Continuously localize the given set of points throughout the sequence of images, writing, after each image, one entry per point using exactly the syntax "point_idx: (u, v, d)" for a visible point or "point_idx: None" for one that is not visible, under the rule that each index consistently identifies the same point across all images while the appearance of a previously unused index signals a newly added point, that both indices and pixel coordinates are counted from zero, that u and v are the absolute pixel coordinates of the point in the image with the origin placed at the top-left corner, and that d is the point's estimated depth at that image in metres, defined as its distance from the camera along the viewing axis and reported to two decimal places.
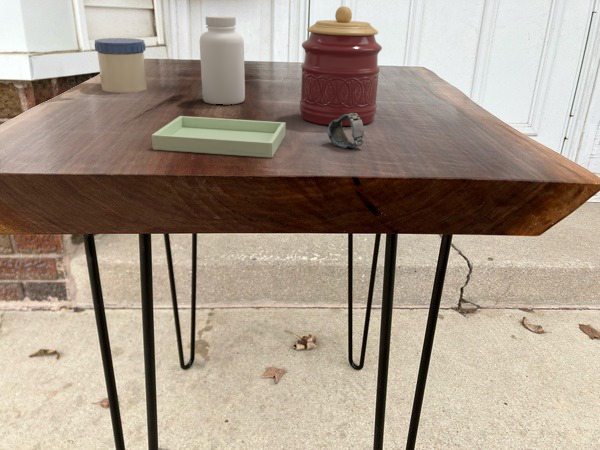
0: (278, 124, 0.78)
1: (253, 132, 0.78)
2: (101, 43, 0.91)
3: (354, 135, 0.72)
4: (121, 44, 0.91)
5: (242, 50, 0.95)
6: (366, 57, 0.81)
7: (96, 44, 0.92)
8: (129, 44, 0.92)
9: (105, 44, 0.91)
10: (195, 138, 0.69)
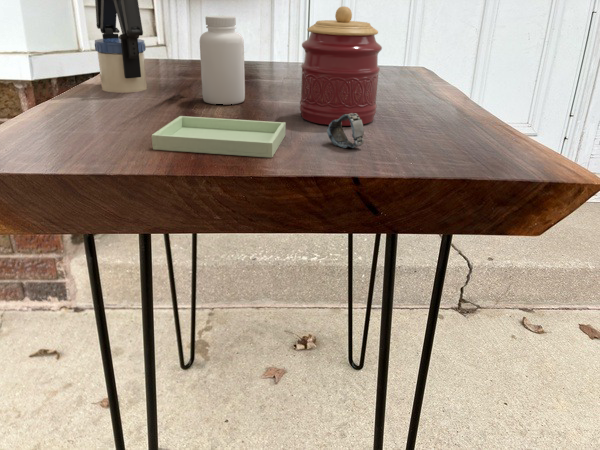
0: (278, 124, 0.78)
1: (253, 132, 0.78)
2: (101, 43, 0.91)
3: (354, 135, 0.72)
4: None
5: (242, 50, 0.95)
6: (366, 57, 0.81)
7: (96, 44, 0.92)
8: None
9: (105, 44, 0.91)
10: (195, 138, 0.69)
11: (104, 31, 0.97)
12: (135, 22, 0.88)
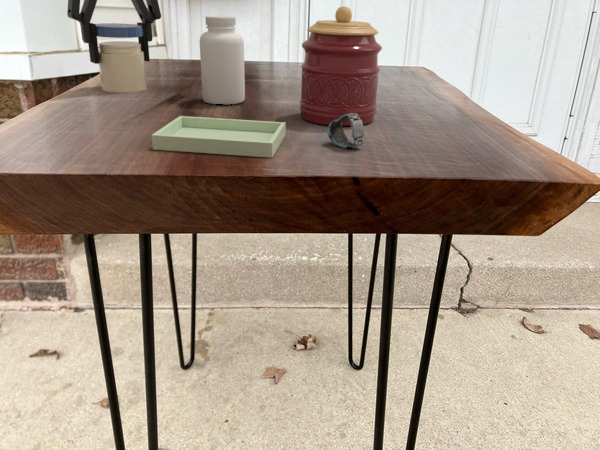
0: (278, 124, 0.78)
1: (253, 132, 0.78)
2: (134, 25, 0.97)
3: (354, 135, 0.72)
4: (116, 24, 0.97)
5: (242, 50, 0.95)
6: (366, 57, 0.81)
7: None
8: (108, 24, 0.96)
9: None
10: (195, 138, 0.69)
11: None
12: None
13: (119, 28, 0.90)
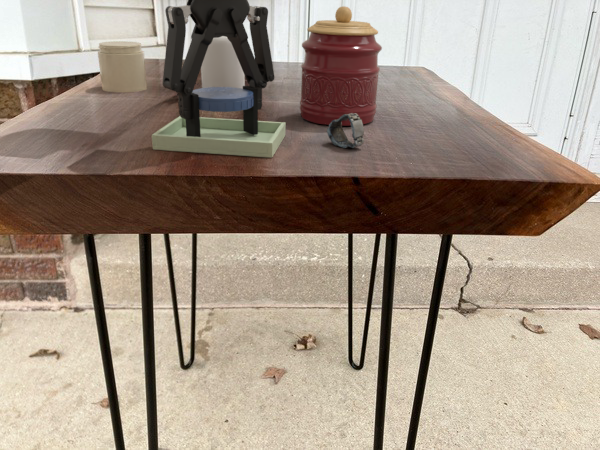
0: (278, 124, 0.78)
1: None
2: None
3: (354, 135, 0.72)
4: None
5: None
6: (366, 57, 0.81)
7: None
8: None
9: None
10: (195, 138, 0.69)
11: None
12: None
13: (230, 100, 0.68)
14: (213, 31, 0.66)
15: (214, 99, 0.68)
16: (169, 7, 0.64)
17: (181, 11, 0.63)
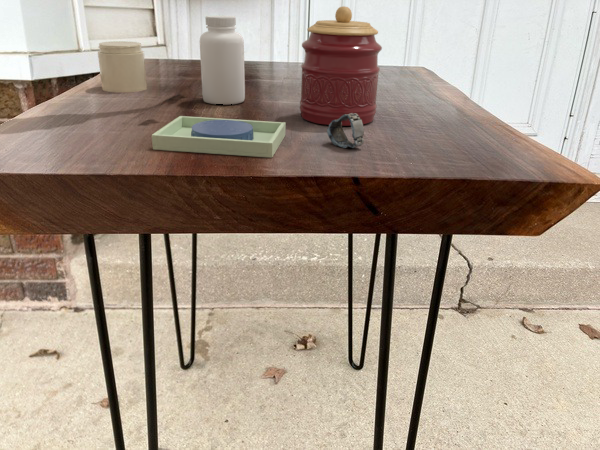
0: (278, 124, 0.78)
1: (253, 132, 0.78)
2: None
3: (354, 135, 0.72)
4: None
5: (242, 50, 0.95)
6: (366, 57, 0.81)
7: None
8: None
9: None
10: (195, 138, 0.69)
11: None
12: None
13: (230, 136, 0.70)
14: None
15: (215, 135, 0.70)
16: None
17: None
